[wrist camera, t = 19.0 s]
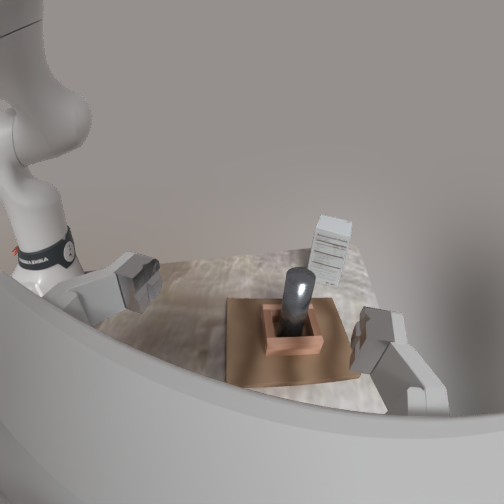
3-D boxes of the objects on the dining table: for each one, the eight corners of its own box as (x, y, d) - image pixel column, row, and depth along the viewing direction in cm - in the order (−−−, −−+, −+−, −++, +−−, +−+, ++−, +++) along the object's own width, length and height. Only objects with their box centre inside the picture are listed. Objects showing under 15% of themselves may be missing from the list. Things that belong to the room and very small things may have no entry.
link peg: (278, 344, 41) (289, 284, 35) (275, 326, 44) (284, 267, 38) (303, 343, 41) (319, 284, 35) (298, 325, 45) (312, 267, 38)
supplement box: (311, 262, 64) (320, 213, 57) (341, 270, 61) (354, 221, 55) (303, 280, 58) (314, 226, 51) (337, 289, 56) (351, 236, 49)
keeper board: (226, 387, 35) (226, 371, 33) (227, 303, 50) (227, 285, 48) (358, 378, 37) (368, 362, 34) (330, 302, 52) (335, 285, 50)
